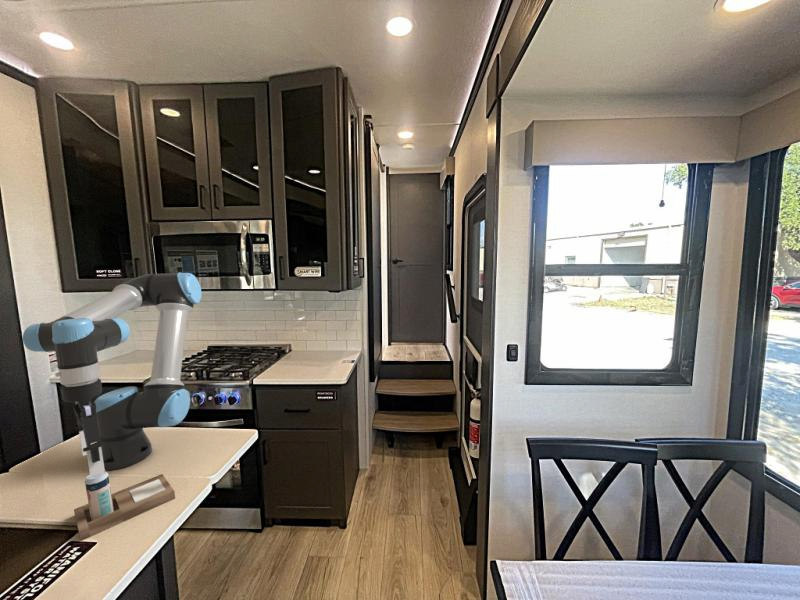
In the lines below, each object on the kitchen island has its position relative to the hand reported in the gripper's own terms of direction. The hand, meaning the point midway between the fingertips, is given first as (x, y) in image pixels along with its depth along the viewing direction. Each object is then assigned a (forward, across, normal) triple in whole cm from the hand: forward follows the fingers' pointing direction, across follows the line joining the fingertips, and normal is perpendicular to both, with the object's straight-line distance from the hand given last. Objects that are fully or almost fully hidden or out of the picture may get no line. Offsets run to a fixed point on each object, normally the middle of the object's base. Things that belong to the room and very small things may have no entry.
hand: (93, 462), depth 93 cm
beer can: (+16, 0, 0) cm, 16 cm away
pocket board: (+15, 0, +5) cm, 16 cm away
